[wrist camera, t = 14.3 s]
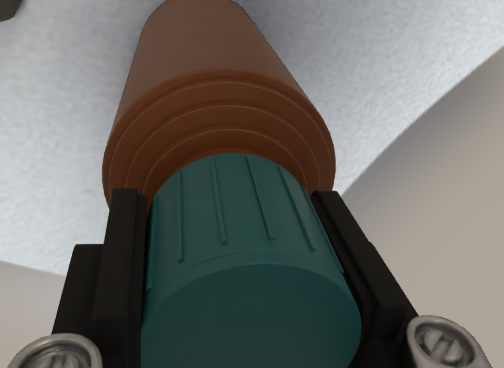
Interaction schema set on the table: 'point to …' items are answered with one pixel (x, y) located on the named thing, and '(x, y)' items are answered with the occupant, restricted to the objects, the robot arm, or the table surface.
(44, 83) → the table surface
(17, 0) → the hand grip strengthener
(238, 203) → the cap
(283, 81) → the bottle
